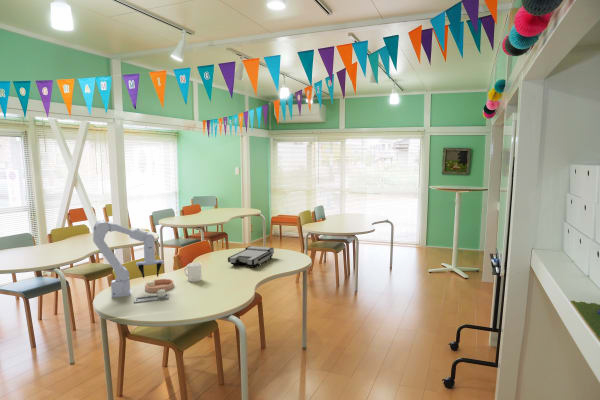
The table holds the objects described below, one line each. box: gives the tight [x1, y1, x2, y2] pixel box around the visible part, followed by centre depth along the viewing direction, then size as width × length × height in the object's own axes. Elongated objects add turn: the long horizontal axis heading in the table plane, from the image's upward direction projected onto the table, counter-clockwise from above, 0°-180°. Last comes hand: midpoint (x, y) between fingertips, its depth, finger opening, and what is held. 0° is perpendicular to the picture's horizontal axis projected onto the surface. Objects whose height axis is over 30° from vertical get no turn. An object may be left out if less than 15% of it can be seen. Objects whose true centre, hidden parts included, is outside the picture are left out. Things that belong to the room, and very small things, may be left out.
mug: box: [183, 262, 203, 283], centre depth 233 cm, size 12×8×10 cm
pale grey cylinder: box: [156, 289, 166, 299], centre depth 201 cm, size 4×4×4 cm
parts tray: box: [133, 293, 170, 304], centre depth 200 cm, size 17×7×1 cm, turn 108°
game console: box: [227, 245, 275, 268], centre depth 272 cm, size 21×32×8 cm, turn 159°
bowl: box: [144, 278, 175, 293], centre depth 218 cm, size 16×16×3 cm
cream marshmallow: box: [146, 280, 155, 287], centre depth 216 cm, size 4×4×4 cm
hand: (150, 276), depth 216 cm, fingers open, 7 cm apart
